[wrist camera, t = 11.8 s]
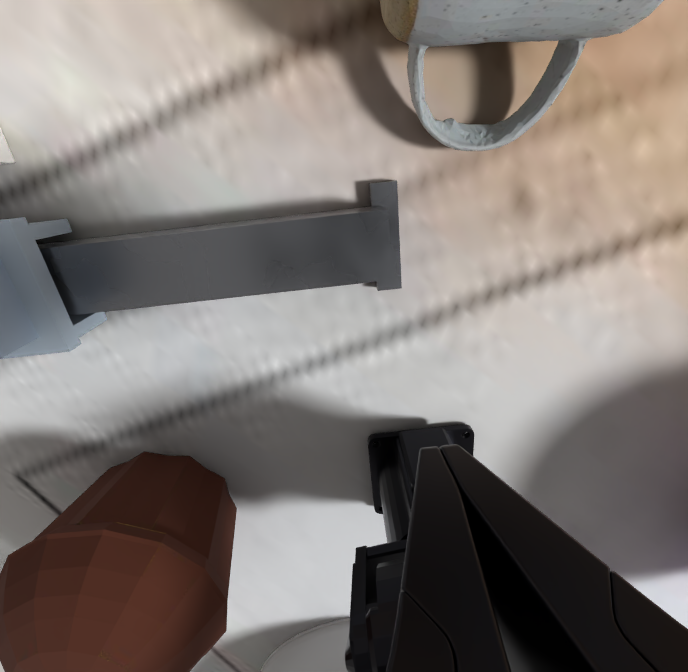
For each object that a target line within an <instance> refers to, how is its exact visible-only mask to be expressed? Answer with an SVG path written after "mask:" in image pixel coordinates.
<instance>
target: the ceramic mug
mask: <svg viewBox="0 0 688 672" xmlns="http://www.w3.org/2000/svg"><path fill="white" fill-rule="evenodd" d="M663 1H664V0H380V6H381V13H382V18H383V21H384V23H385V25H386V27H387V29H388V31H389V32H390V33H391V34H392V35H393V36H394V37H395V38H396V39H397V40H399V41H402V42H405V43H408V45H409V52H408V63H407V70H408V79H409V85H410V92H411V98H412V102H413V105H414V108H415V110H416V113H417V115H418V118H419V120H420V121H421V123H422V125H423V126H424V128H425V129H426V130H427V131H428V133H429V134H430V135H431V136H432V137H433V138H435V139H436V140H437V141H439V142H440V143H442V144H443V145H445V146H447V147H451V148H454V149H456V150H463V151H485V150H490V149H494V148H499V147H501V146H504V145H506V144H508V143H510V142H512V141H514V140H515V139H517V138H518V137H520V136H521V135H522V134H524V133H525V132H526V131H527V130H528V129H529V128H531V127H532V126H533V125H534V124H535V123H536V122H537V121H538V120H539V119H540V118H541V117H542V116H543V114H544V113H545V112H546V111H547V110H548V108H549V107H550V106H551V105H552V103H553V102H554V101H555V99H556V98H557V96H558V95H559V93H560V92H561V90H562V89H563V87H564V86H565V84H566V82H567V80H568V78H569V76H570V74H571V73H572V71H573V69H574V67H575V66H576V63H577V61H578V59H579V57H580V55H581V53H582V51H583V49H584V46H585V44H586V42H587V41H588V40H590V39H592V38H598V37H607V36H610V35H614V34H618V33H622V32H624V31H626V30H628V29H629V28H631V27H632V26H634V25H636V24H637V23H638V22H640V21H641V20H643V19H644V18H646V17H647V16H649V15H650V14H651V13H652V12H653V11H654V10H655V9H656V8H657V7H658V6H659V5H660V4H661V3H662V2H663ZM546 40H549V41H557V40H559V42H558V45H557V47H556V49H555V51H554V54H553V56H552V59H551V61H550V63H549V65H548V67H547V69H546V71H545V73H544V74H543V76H542V78H541V80H540V81H539V83H538V85H537V86H536V88H535V89H534V91H533V93H532V94H531V96H530V97H529V98H528V99H527V100H526V102H525V103H524V104H523V105H522V106H521V107H520V108H519V109H518V111H516V112H515V113H514V114H513V115H511V116H510V117H509V118H507V119H506V120H504V121H499V122H497V123H496V124H492V125H489V124H463V123H457V122H456V121H455V120H454V119H452V118H450V119H446V120H444V121H440V120H435V119H434V118H433V116H432V114H431V112H430V110H429V107H428V105H427V104H426V102H425V93H424V81H423V68H424V61H423V58H424V54H425V51H426V49H427V48H428V47H439V46H453V45H466V44H479V43H485V42H508V41H511V42H527V41H546Z"/></svg>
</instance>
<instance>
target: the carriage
mask: <svg viewBox="0 0 688 672" xmlns="http://www.w3.org/2000/svg"><path fill="white" fill-rule="evenodd" d="M70 232H72V230H71V227H70V225H69V222H68V220H67V219H59V220H51V221H42V222H33V223H27V220H26V218H25V217H21V218H12V219H4V220H0V359H5V358H14V357H23V356H32V355H42V354H51V353H60V352H69V351H71V350H73V349H74V348H76V347H77V346H79V345H80V344H81V342H80V340H79V337H81V336H82V335H84V334H85V333H87V332H89V331H90V330H92V329H93V328H95V327H96V326H98V325H100V324H101V323H103V322H104V321H106V320H107V318H106V315H105V313H104V312H98V313H89V314H80V315H71V316H69V315H68V313H67V310H66V308H65V306H64V304H63V301H62V299H61V297H60V295H59V292H58V290H57V288H56V286H55V283H54V281H53V279H52V277H51V274H50V272H49V270H48V268H47V265H46V263H45V261H44V259H43V256H42V254H41V252H40V250H39V247H38V245H37V243H36V241H35V240H38V239H42V238H47V237H52V236H56V235H61V234H65V233H70Z"/></svg>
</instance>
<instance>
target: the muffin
mask: <svg viewBox="0 0 688 672" xmlns="http://www.w3.org/2000/svg"><path fill="white" fill-rule="evenodd" d="M236 510H237V508H236V506H235V504H234V502H233V500H232V499H231V497H230V495H229V492H228V488H227V485H226V481H225V478H223V477H221V476H219V475H217V474H216V473H214V472H212V471H210V470H208V469H206V468H205V467H204V466H202V465H201V464H200V463H198V462H197V461H196V460H194V459H193V458H192V457H190V456H169V455H161V454H155V453H149V452H143V453H141V454H140V455H138V456H136V457H135V458H133V459H131V460H130V461H128V462H125V463H122V464H120V465H117V466H114V467H111V468H110V469H108V470H107V471H106V472H105V473H104V474H103V475H102V476H101V477H100V478H99V479H98V480H97V481H96V482H95V483H94V484H93V485H91V486H90V487H89V488H88V489H87V490H86V491H85V492H84V493H83V494H82V495H81V496H80V497H79V498H78V499H77V500H75V501H74V502H73V503H72V504H71V505H70V506H69V507H68V508H67V509H66V510H65V511H64V512H63V513H62V514H61V515H60V516H58V517H57V518H56V519H55V520H54V521H53V522H52V523H51V524H50V525H49V526H48V527H47V528H46V529H45V530H44V531H43V532H41V533H40V534H39V535H38V536H37V537H36V538H35V539H34V540H33V541H32V542H30V543H28V544H26V545H25V546H23V547H21V548H20V549H18V550H16V551H15V552H13V553H11V554H10V555H8V557H7V560H6V562H5V564H4V567H3V569H2V571H1V573H0V661H1V664H2V666H3V669H4V671H5V672H190V670H191V669H192V668H193V667H194V666H195V665H196V664H197V662H198V661H199V660H200V659H201V658H202V657H203V656H204V655H205V654H206V653H207V652H208V651H209V650H210V649H211V648H212V647H213V645H214V644H215V643H216V642H217V641H218V640H219V639H220V637H221V636H222V635H223V634H224V633H225V632H226V625H227V598H228V588H229V578H230V569H231V559H232V549H233V539H234V529H235V519H236Z"/></svg>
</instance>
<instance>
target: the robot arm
mask: <svg viewBox="0 0 688 672" xmlns="http://www.w3.org/2000/svg"><path fill="white" fill-rule="evenodd" d="M464 432H467V433H466V434H463V433H464ZM375 441H378V443H373V442H375ZM473 447H474V432H473V430H472V428H471V427H470V426H469V425H455V426H445V427H435V428H426V429H416V430H407V431H397V432H387V433H378V434H372V435H371V436H369V438H368V449H369V460H370V470H371V480H372V490H373V500H374V509H375V511H376V512H377V513H379V514H383V517H384V523H385V530H386V537H387V543H386V544H381V545H376V546H372V547H367V546H362V547H357V548H356V557H355V563H354V564H353V573H352V592H351V610H350V628H349V635H348V640H347V645H346V650H345V664H346V669H347V671H348V672H688V629H687V628H686V627H684V626H683V625H682V624H680V623H679V622H678V621H676V620H675V619H674V618H673V617H671V616H670V615H669V614H667V613H666V612H665V611H664V610H662V609H661V608H660V607H659V606H657V605H656V604H655V603H653V602H652V601H651V600H650V599H648V598H647V597H646V596H644V595H643V594H642V593H641V592H639V591H638V590H637V589H636V588H634V587H633V586H632V585H631V584H629V583H628V582H627V581H626V580H625V579H623V578H622V577H621V576H620V575H618V574H617V573H616V572H614V571H611V572H610V568H609V567H608V566H607V565H606V564H605V563H603V562H602V561H601V560H600V559H598V558H597V557H596V556H595V555H594V554H592V553H591V552H590V551H589V550H587V549H586V548H585V547H584V546H582V545H581V544H580V543H579V542H578V541H576V540H575V539H574V538H573V537H571V536H570V535H569V534H568V533H566V532H565V531H564V530H563V529H562V528H560V527H559V526H558V525H557V524H555V523H554V522H553V521H552V520H550V519H549V518H548V517H547V516H546V515H544V514H543V513H542V512H541V511H539V510H538V509H537V508H536V507H534V506H533V505H532V504H531V503H530V502H528V501H527V500H526V499H525V498H523V497H522V496H521V495H520V494H518V493H517V492H516V491H515V490H514V489H512V488H511V487H510V486H509V485H507V484H506V483H505V482H504V481H502V480H501V479H500V478H499V477H498V476H496V475H495V474H494V473H493V472H491V471H490V470H489V469H488V468H486V467H485V466H484V465H483V464H482V463H480V462H479V461H478V460H477V459H475V458H474V457H473Z"/></svg>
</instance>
